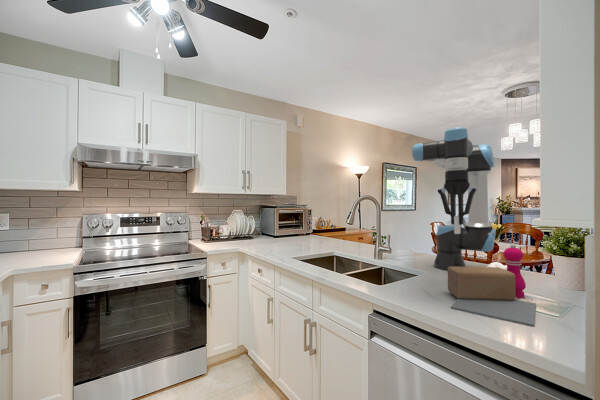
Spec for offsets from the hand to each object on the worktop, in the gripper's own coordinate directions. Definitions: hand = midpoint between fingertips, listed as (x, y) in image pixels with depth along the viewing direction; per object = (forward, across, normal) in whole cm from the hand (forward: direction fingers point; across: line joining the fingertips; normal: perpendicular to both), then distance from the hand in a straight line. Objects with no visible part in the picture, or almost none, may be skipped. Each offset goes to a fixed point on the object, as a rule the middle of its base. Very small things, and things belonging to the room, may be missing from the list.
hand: (457, 233), depth 105 cm
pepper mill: (+25, +15, +18) cm, 34 cm away
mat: (+25, +11, -1) cm, 27 cm away
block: (+19, -3, +2) cm, 19 cm away
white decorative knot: (+25, +10, +32) cm, 42 cm away
